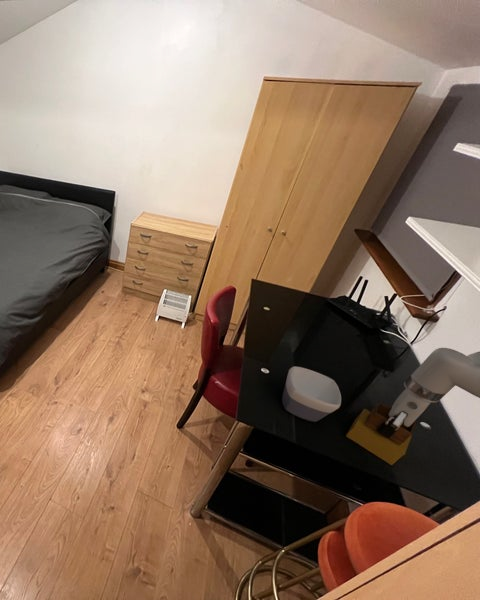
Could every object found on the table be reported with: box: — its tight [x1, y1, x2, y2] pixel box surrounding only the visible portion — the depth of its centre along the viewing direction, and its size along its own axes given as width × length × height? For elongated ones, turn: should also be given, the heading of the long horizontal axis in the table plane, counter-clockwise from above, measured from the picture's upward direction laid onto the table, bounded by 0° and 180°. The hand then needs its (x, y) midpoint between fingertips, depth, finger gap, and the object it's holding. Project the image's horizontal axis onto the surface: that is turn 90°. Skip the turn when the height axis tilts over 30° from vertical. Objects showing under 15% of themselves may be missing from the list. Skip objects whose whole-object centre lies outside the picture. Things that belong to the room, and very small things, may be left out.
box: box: [345, 407, 413, 466], centre depth 100 cm, size 12×10×6 cm
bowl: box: [281, 365, 342, 423], centre depth 108 cm, size 15×15×11 cm
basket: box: [364, 401, 417, 445], centre depth 97 cm, size 9×7×6 cm
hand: (385, 427), depth 98 cm, fingers closed on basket, 6 cm apart
